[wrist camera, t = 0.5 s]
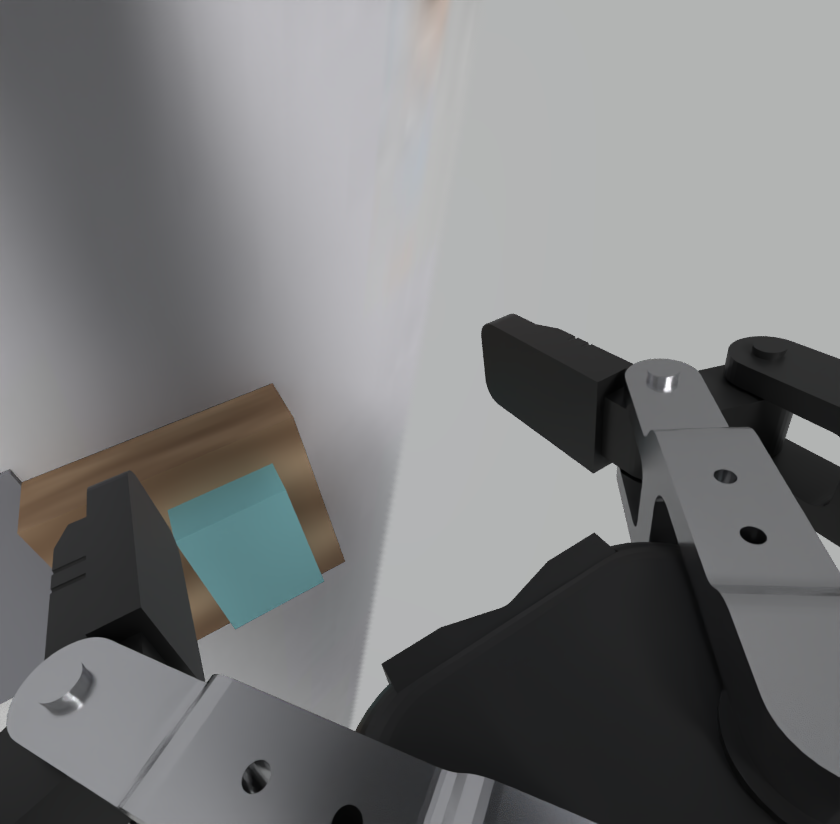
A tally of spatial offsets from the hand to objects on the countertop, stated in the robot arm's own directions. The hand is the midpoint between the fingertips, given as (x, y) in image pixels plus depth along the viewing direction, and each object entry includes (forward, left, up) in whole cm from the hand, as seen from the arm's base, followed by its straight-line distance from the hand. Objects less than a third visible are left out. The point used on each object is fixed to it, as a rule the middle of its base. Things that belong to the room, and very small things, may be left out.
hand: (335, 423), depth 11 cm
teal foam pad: (+18, -4, -14) cm, 23 cm away
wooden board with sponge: (+18, -6, -19) cm, 27 cm away
